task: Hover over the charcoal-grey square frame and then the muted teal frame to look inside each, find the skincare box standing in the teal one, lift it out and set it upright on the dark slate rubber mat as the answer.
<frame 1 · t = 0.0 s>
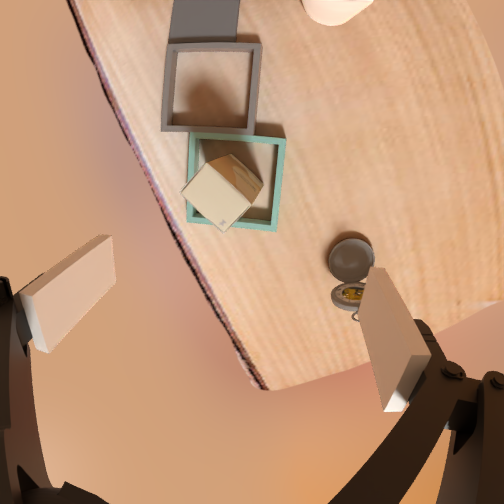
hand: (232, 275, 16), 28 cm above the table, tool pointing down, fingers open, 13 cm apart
slate mat: (205, 13, 33), on the table
grey frame: (212, 88, 37), on the table
skincare box: (236, 178, 42), resting in teal frame
cup: (328, 5, 31), on the table
teal frame: (235, 179, 42), on the table
pocket watch: (349, 266, 45), on the table
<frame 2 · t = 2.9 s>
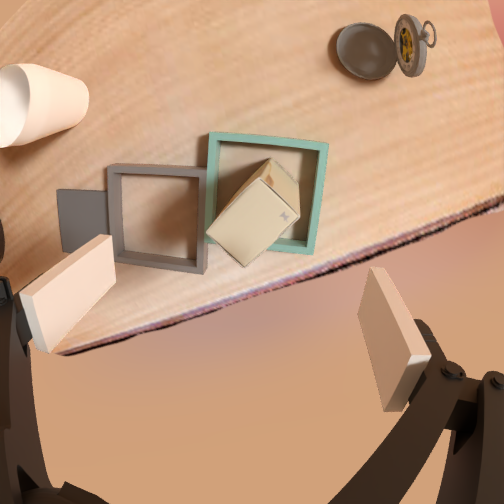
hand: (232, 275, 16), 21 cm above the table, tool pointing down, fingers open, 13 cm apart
slate mat: (86, 223, 39), on the table
grey frame: (160, 215, 37), on the table
skincare box: (264, 190, 35), resting in teal frame
cup: (70, 103, 33), on the table
teal frame: (264, 190, 35), on the table
pocket watch: (375, 54, 28), on the table
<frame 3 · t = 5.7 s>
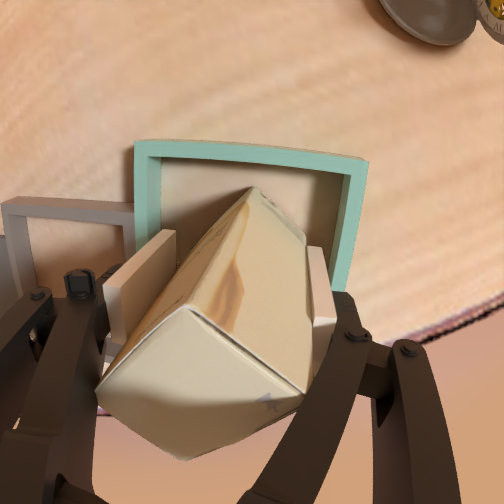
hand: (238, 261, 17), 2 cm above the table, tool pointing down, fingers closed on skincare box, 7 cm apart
grey frame: (81, 277, 22), on the table
skincare box: (243, 244, 19), resting in teal frame, touching gripper
teal frame: (243, 246, 19), on the table
pocket watch: (439, 5, 12), on the table
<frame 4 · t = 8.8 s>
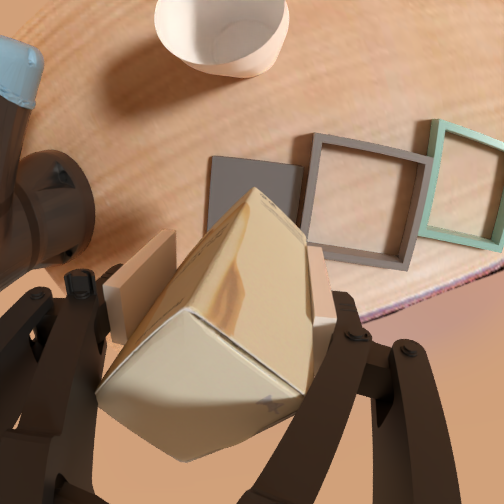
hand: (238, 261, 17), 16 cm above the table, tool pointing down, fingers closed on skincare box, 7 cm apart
slate mat: (253, 203, 33), on the table
grey frame: (363, 201, 31), on the table
skincare box: (243, 245, 19), point 14 cm above the table, touching gripper
cup: (245, 48, 27), on the table
teal frame: (468, 187, 28), on the table
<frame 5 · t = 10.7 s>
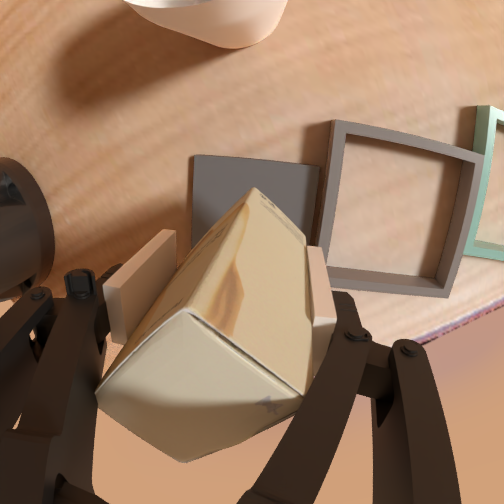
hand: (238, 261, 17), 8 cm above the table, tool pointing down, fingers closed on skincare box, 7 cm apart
slate mat: (252, 218, 24), on the table
grey frame: (396, 211, 23), on the table
skincare box: (243, 246, 19), point 6 cm above the table, touching gripper
cup: (236, 11, 19), on the table
when the fingers open (4 cm above the table, at t = 12.2 s): skincare box drops 1 cm, resting on slate mat.
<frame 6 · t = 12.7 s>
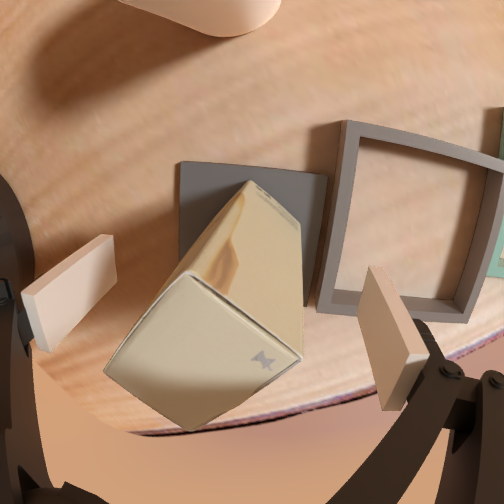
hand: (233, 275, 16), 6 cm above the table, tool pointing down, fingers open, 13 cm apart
slate mat: (248, 234, 21), on the table
grey frame: (414, 227, 20), on the table
skincare box: (243, 235, 21), resting on slate mat
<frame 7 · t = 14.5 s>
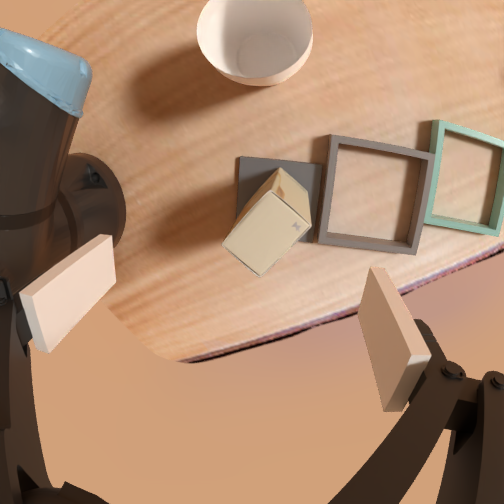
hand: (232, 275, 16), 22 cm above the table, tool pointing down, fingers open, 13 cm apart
slate mat: (277, 199, 36), on the table
grey frame: (374, 194, 34), on the table
skincare box: (275, 199, 36), resting on slate mat
cup: (266, 58, 31), on the table
teal frame: (466, 179, 32), on the table
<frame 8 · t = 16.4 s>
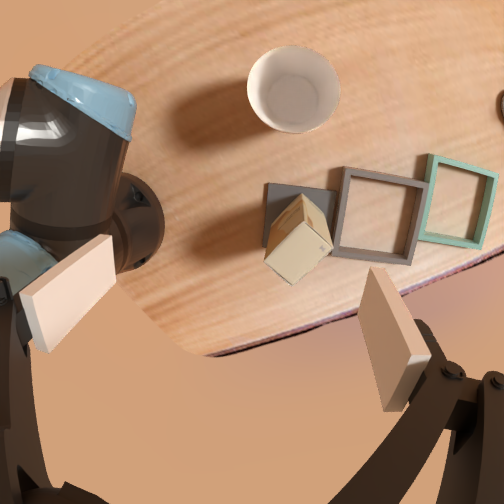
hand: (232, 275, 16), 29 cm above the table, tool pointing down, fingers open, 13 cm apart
slate mat: (298, 218, 44), on the table
grey frame: (378, 215, 42), on the table
skincare box: (296, 219, 43), resting on slate mat
cup: (292, 99, 38), on the table
teal frame: (455, 202, 40), on the table
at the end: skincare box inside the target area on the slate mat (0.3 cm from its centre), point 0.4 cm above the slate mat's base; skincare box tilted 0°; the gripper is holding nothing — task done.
